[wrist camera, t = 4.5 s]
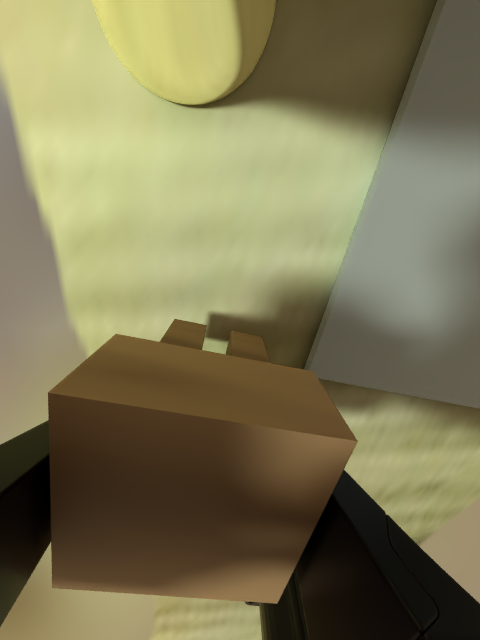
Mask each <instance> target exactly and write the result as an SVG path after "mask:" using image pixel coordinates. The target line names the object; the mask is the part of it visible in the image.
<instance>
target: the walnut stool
mask: <svg viewBox="0 0 480 640" xmlns="http://www.w3.org/2000/svg"><path fill="white" fill-rule="evenodd" d="M206 327H207V325H202V324H198V323H193V322H188V321H183V320H178V319H174V321H173V322H172V324H171V326H170V327H169V329H168V330H167V332H166V333H165V335H164V336H163V338H162V339H161V341H160V342H156V341H151V340H145V339H140V338H135V337H130V336H124V335H119V334H115V335H114V336H113V337H112V338H111V339H110V340H108V341H107V342H106V343H105V344H104V345H103V346H101V347H100V348H99V349H98V350H97V351H96V352H95V353H93V354H92V355H91V356H90V357H89V358H88V359H86V360H85V361H84V362H83V363H82V364H81V365H80V366H78V367H77V368H76V369H75V370H74V371H73V372H71V373H70V374H69V375H68V376H67V377H66V378H64V379H63V380H62V381H61V382H60V383H59V384H58V385H56V386H55V387H54V388H53V389H52V390H51V391H49V392H48V407H49V408H48V409H49V456H50V502H51V547H52V548H51V549H52V588H60V589H74V590H75V589H76V590H89V591H103V592H117V593H133V594H146V595H160V596H175V597H189V598H203V599H218V600H232V601H246V602H261V603H275V604H277V603H278V601H279V599H280V597H281V595H282V593H283V591H284V589H285V587H286V585H287V583H288V581H289V579H290V577H291V575H292V573H293V571H294V569H295V567H296V565H297V563H298V561H299V559H300V557H301V555H302V553H303V551H304V549H305V547H306V545H307V542H308V540H309V538H310V536H311V534H312V532H313V530H314V528H315V526H316V524H317V522H318V520H319V518H320V516H321V514H322V512H323V510H324V508H325V506H326V504H327V502H328V500H329V498H330V496H331V494H332V492H333V490H334V488H335V486H336V484H337V482H338V480H339V478H340V476H341V474H342V472H343V470H344V468H345V466H346V464H347V462H348V460H349V458H350V456H351V454H352V452H353V450H354V448H355V446H356V444H357V442H358V441H357V440H356V438H355V436H354V435H353V433H352V432H351V430H350V428H349V427H348V425H347V424H346V422H345V420H344V419H343V417H342V416H341V414H340V412H339V411H338V409H337V408H336V406H335V405H334V403H333V401H332V400H331V398H330V397H329V395H328V393H327V392H326V390H325V389H324V387H323V385H322V384H321V382H320V381H319V379H318V377H317V376H316V374H315V373H314V371H309V370H304V369H298V368H293V367H288V366H282V365H277V364H272V363H270V360H269V357H268V354H267V351H266V348H265V345H264V342H263V339H262V336H257V335H252V334H247V333H242V332H237V331H232V330H231V334H230V338H229V342H228V347H227V351H226V355H225V354H219V353H214V352H209V351H203V350H202V347H203V342H204V337H205V332H206Z"/></svg>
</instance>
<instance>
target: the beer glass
mask: <svg viewBox="0 0 480 640" xmlns="http://www.w3.org/2000/svg"><path fill="white" fill-rule="evenodd" d="M92 3H93V6H94V9H95V12H96V14H97V17H98V20H99V22H100V25H101V27H102V30H103V32H104V34H105V36H106V38H107V40H108V42H109V44H110V46H111V48H112V50H113V51H114V53H115V55H116V56H117V58H118V59H119V61H120V62H121V63H122V65H123V66H124V67H125V68H126V70H127V71H128V72H129V73H130V74H131V75H132V76H133V77H134V78H135V79H136V80H137V81H138V82H139V83H140V84H142V85H143V86H144V87H145V88H147V89H148V90H149V91H151V92H153V93H154V94H156V95H158V96H159V97H161V98H164V99H166V100H169V101H171V102H175V103H179V104H185V105H201V104H207V103H211V102H214V101H217V100H219V99H221V98H223V97H225V96H227V95H228V94H230V93H231V92H233V91H234V90H235V89H236V88H238V87H239V86H240V85H241V84H242V83H243V82H244V81H245V80H246V78H247V77H248V76H249V75H250V73H251V72H252V71H253V69H254V68H255V66H256V64H257V63H258V61H259V59H260V57H261V55H262V53H263V50H264V48H265V46H266V43H267V40H268V37H269V34H270V30H271V27H272V22H273V18H274V12H275V4H276V0H92Z"/></svg>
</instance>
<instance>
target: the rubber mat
mask: <svg viewBox="0 0 480 640" xmlns="http://www.w3.org/2000/svg"><path fill="white" fill-rule="evenodd" d="M304 370H309V371H314V373H315V374H316V376H317V377H318V379H323V380H328V381H334V382H339V383H344V384H350V385H355V386H360V387H366V388H371V389H376V390H382V391H387V392H393V393H398V394H403V395H409V396H414V397H419V398H425V399H430V400H435V401H441V402H446V403H451V404H457V405H462V406H467V407H473V408H478V409H480V0H437V2H436V5H435V8H434V11H433V13H432V16H431V19H430V22H429V24H428V27H427V30H426V33H425V35H424V38H423V41H422V44H421V47H420V49H419V52H418V55H417V58H416V60H415V63H414V66H413V69H412V71H411V74H410V77H409V80H408V82H407V85H406V88H405V91H404V94H403V96H402V99H401V102H400V105H399V107H398V110H397V113H396V116H395V118H394V121H393V124H392V127H391V129H390V132H389V135H388V138H387V141H386V143H385V146H384V149H383V152H382V154H381V157H380V160H379V163H378V165H377V168H376V171H375V174H374V176H373V179H372V182H371V185H370V188H369V190H368V193H367V196H366V199H365V201H364V204H363V207H362V210H361V212H360V215H359V218H358V221H357V223H356V226H355V229H354V232H353V234H352V237H351V240H350V243H349V246H348V248H347V251H346V254H345V257H344V259H343V262H342V265H341V268H340V270H339V273H338V276H337V279H336V281H335V284H334V287H333V290H332V293H331V295H330V298H329V301H328V304H327V306H326V309H325V312H324V315H323V317H322V320H321V323H320V326H319V328H318V331H317V334H316V337H315V340H314V342H313V345H312V348H311V351H310V353H309V356H308V359H307V362H306V364H305V367H304Z"/></svg>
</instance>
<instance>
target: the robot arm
mask: <svg viewBox="0 0 480 640" xmlns="http://www.w3.org/2000/svg"><path fill="white" fill-rule="evenodd" d="M50 542H51V502H50V456H49V420H48V421H46V422H44V423H42V424H40V425H38V426H36V427H34V428H32V429H30V430H28V431H26V432H25V433H23V434H20V435H19V436H17V437H15V438H13V439H11V440H9V441H7V442H5V443H3V444H1V445H0V627H1V625H2V623H3V622H4V620H5V618H6V616H7V615H8V613H9V611H10V610H11V608H12V606H13V605H14V603H15V601H16V599H17V598H18V596H19V595H20V593H21V591H22V589H23V588H24V586H25V584H26V583H27V581H28V579H29V578H30V576H31V574H32V573H33V571H34V569H35V567H36V566H37V564H38V563H39V561H40V559H41V557H42V556H43V554H44V552H45V551H46V549H47V547H48V546H49V544H50ZM245 603H246V604H247V605H254V606H259V607H260V620H261V632H262V640H480V604H479V603H478V602H477V601H476V600H475V599H474V598H473V597H472V596H471V595H470V594H469V593H468V592H466V591H465V590H464V589H463V588H462V587H461V586H460V585H459V584H458V583H457V582H456V581H455V580H454V579H453V578H452V577H450V576H449V575H448V574H447V573H446V572H445V571H444V570H443V569H442V568H441V567H440V566H439V565H438V564H437V563H436V562H435V561H434V560H433V559H431V558H430V557H429V556H428V555H427V554H426V553H425V552H424V551H423V550H422V549H421V548H420V547H419V546H418V545H417V544H416V543H415V542H414V541H413V540H412V539H411V538H410V537H409V536H408V535H407V534H406V533H405V532H404V531H403V530H402V529H401V528H400V527H399V526H398V525H397V524H396V523H395V522H394V521H393V520H392V519H391V517H390V516H389V515H386V513H385V511H384V510H383V509H382V508H381V507H380V506H379V505H378V504H377V503H376V502H375V501H374V500H373V499H372V498H371V497H370V496H369V495H368V494H367V493H366V492H365V491H364V490H363V489H362V488H361V487H360V486H359V485H358V484H357V483H356V481H355V480H354V479H353V478H352V477H351V476H350V475H349V474H348V473H347V472H346V471H345V470H343V472H342V474H341V476H340V478H339V480H338V482H337V484H336V486H335V488H334V490H333V492H332V494H331V496H330V498H329V500H328V502H327V504H326V506H325V508H324V510H323V512H322V514H321V516H320V518H319V520H318V522H317V524H316V526H315V528H314V530H313V532H312V534H311V536H310V538H309V540H308V542H307V545H306V547H305V549H304V551H303V553H302V555H301V557H300V559H299V561H298V563H297V565H296V567H295V569H294V571H293V573H292V575H291V577H290V579H289V581H288V583H287V585H286V587H285V589H284V591H283V593H282V595H281V597H280V599H279V601H278V603H277V604H275V603H261V602H246V601H245Z"/></svg>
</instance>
